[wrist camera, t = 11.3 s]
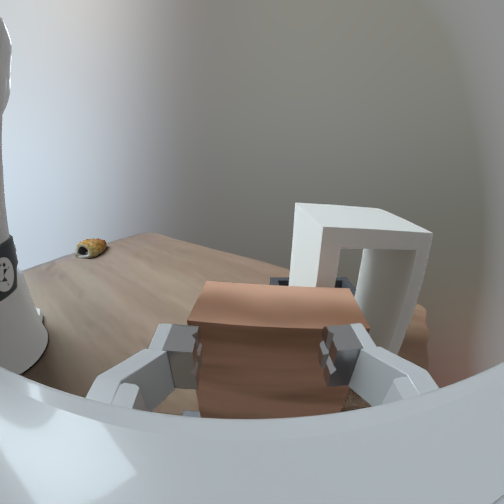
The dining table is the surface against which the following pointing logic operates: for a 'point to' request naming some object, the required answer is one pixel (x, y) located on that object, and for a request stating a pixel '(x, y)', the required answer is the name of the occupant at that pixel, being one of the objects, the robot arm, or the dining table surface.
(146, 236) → the dining table surface
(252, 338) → the block
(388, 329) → the white arch frame
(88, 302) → the dining table surface
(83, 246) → the pastry
